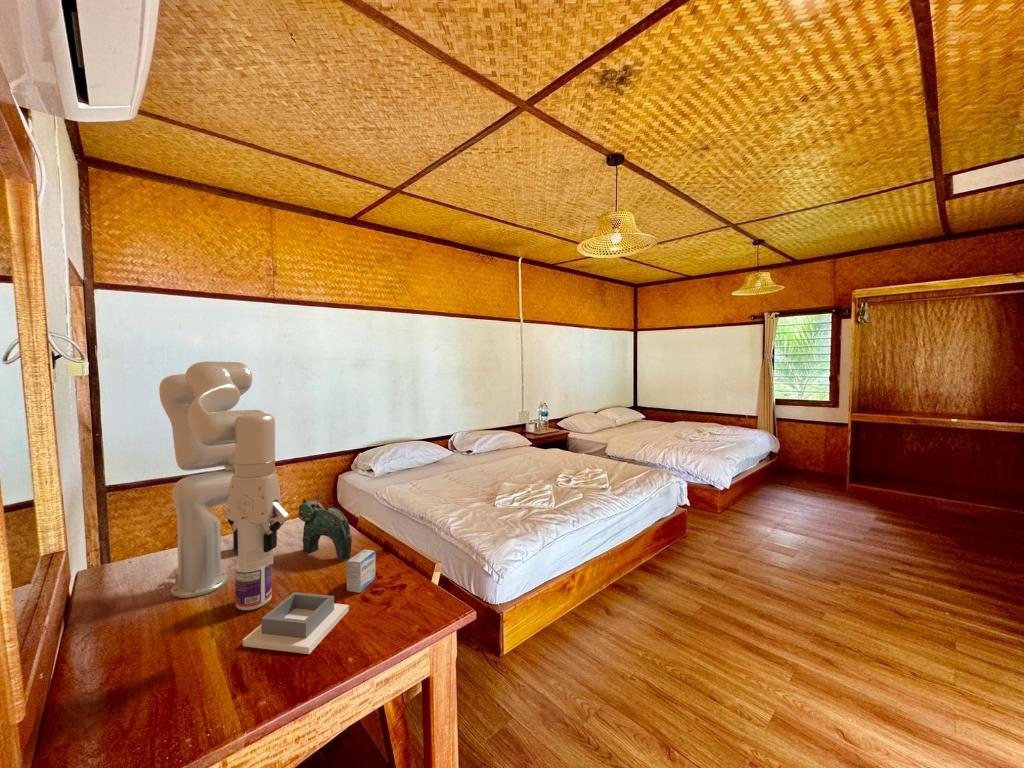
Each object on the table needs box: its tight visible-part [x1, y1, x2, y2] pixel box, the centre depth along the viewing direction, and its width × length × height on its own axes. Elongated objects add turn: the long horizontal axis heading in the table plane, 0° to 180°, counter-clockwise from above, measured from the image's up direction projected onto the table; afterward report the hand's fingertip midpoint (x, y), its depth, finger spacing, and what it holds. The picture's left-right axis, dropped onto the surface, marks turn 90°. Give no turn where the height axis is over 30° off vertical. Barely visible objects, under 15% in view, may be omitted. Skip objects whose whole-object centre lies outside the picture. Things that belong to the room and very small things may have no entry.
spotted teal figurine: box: [298, 494, 353, 562], centre depth 134 cm, size 20×6×20 cm, turn 67°
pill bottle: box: [234, 561, 273, 611], centre depth 105 cm, size 8×8×14 cm
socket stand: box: [242, 591, 350, 655], centre depth 96 cm, size 16×16×5 cm
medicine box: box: [346, 549, 376, 594], centre depth 115 cm, size 8×4×9 cm, turn 168°
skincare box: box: [237, 516, 274, 573], centre depth 90 cm, size 6×4×12 cm
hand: (255, 547), depth 90 cm, fingers closed on skincare box, 6 cm apart
